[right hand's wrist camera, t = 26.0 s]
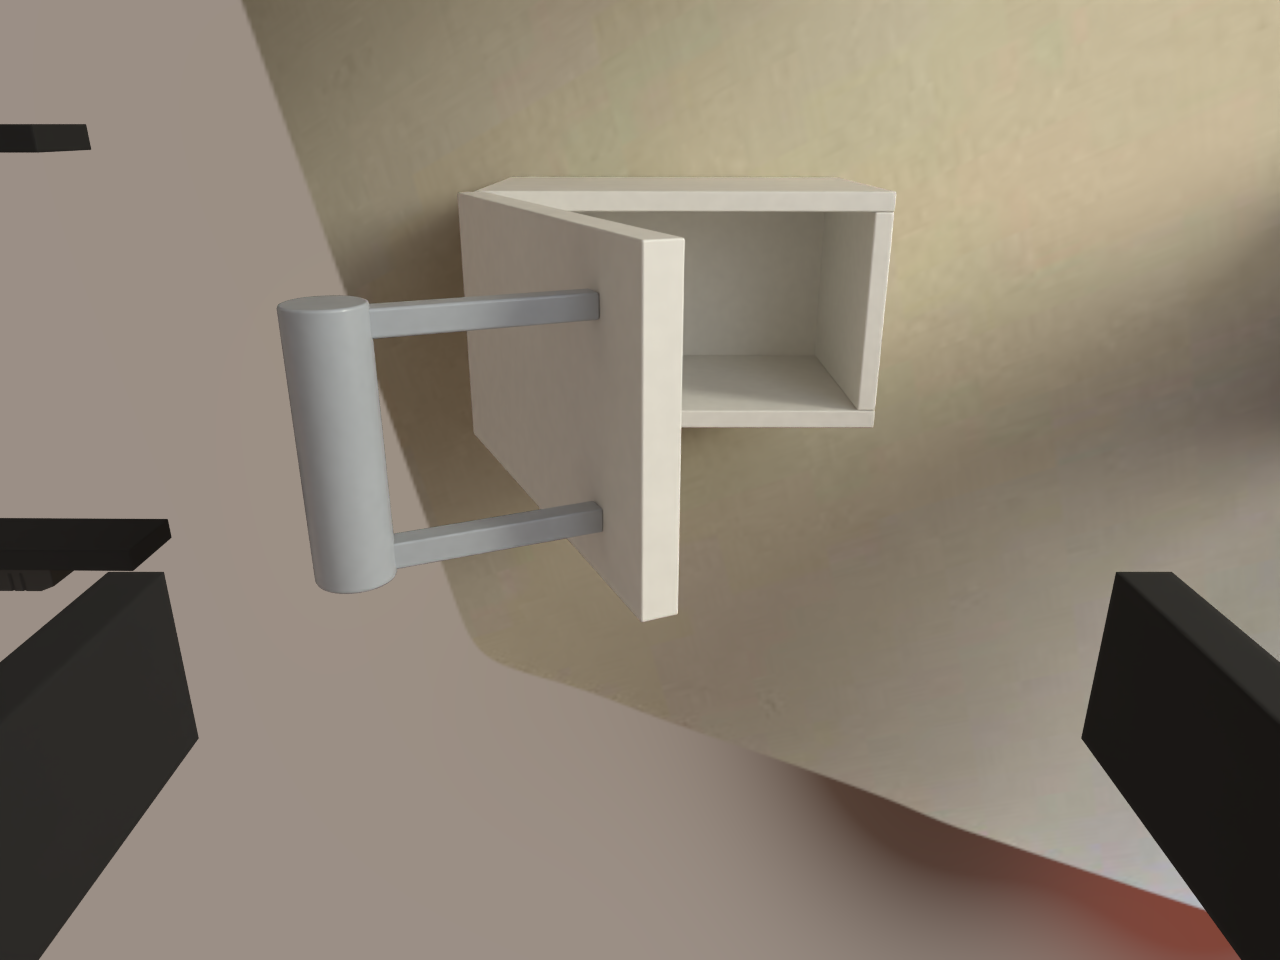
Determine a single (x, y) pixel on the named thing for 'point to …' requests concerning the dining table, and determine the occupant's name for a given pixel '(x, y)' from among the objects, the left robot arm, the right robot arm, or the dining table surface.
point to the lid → (512, 401)
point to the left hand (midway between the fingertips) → (112, 357)
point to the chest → (760, 288)
